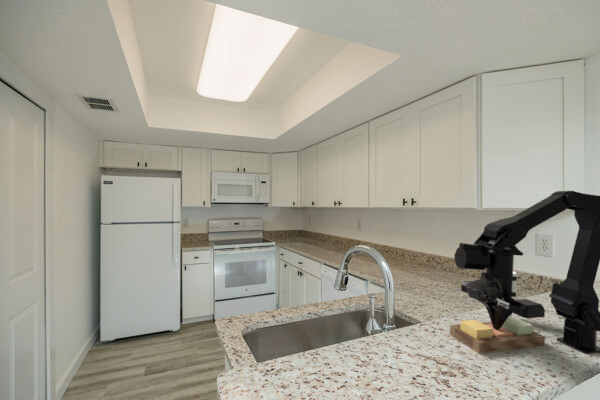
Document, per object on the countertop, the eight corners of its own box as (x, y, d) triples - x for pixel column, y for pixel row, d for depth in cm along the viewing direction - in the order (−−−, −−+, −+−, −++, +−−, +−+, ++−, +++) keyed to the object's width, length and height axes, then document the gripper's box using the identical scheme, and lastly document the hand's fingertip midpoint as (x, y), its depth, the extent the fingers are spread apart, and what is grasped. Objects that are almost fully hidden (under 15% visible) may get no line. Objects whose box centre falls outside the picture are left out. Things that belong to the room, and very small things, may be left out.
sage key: (513, 326, 75) (513, 316, 75) (532, 335, 70) (533, 325, 70) (499, 327, 74) (499, 317, 74) (517, 336, 69) (518, 326, 69)
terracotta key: (494, 333, 73) (495, 323, 73) (512, 343, 69) (513, 333, 69) (479, 334, 72) (480, 325, 72) (497, 345, 67) (497, 334, 67)
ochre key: (475, 329, 72) (475, 319, 72) (492, 339, 67) (493, 328, 67) (459, 331, 71) (460, 321, 71) (476, 341, 66) (476, 330, 66)
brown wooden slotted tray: (509, 328, 77) (510, 320, 77) (544, 346, 68) (544, 336, 68) (449, 334, 73) (450, 325, 72) (478, 353, 64) (479, 343, 64)
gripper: (446, 262, 78) (444, 315, 78) (509, 283, 59) (506, 352, 59) (477, 261, 80) (475, 313, 80) (548, 281, 62) (544, 348, 62)
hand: (496, 329), depth 70 cm, fingers closed, pressing on terracotta key
